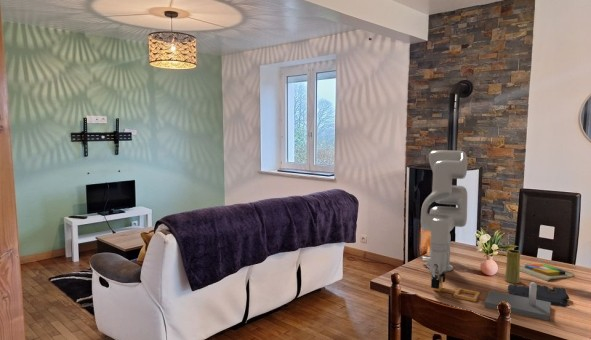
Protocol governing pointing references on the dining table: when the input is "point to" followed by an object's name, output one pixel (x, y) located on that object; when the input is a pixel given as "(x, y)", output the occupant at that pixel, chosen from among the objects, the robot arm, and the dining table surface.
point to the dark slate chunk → (542, 294)
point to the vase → (513, 266)
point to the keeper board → (521, 303)
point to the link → (456, 292)
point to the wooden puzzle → (545, 271)
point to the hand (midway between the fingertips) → (438, 284)
